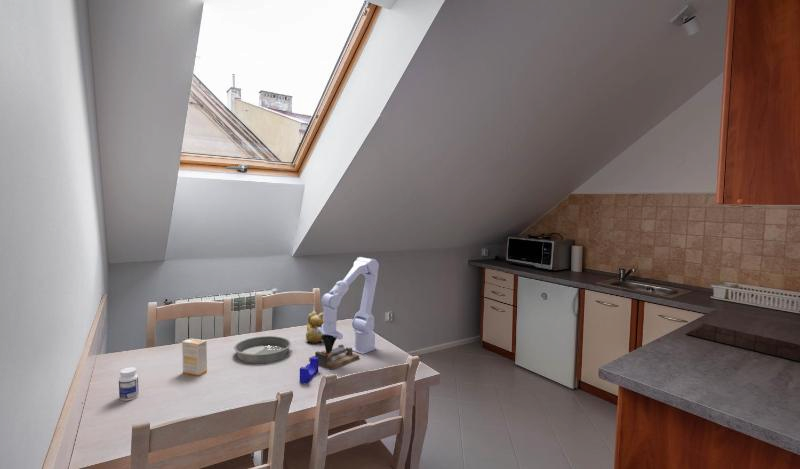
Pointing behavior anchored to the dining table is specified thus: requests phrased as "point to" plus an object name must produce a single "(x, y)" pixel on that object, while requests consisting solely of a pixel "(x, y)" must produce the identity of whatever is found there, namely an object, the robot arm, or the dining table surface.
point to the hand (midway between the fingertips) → (328, 351)
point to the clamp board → (336, 358)
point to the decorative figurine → (314, 327)
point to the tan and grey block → (335, 351)
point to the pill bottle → (128, 384)
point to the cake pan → (263, 354)
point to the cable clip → (309, 370)
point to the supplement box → (194, 356)
